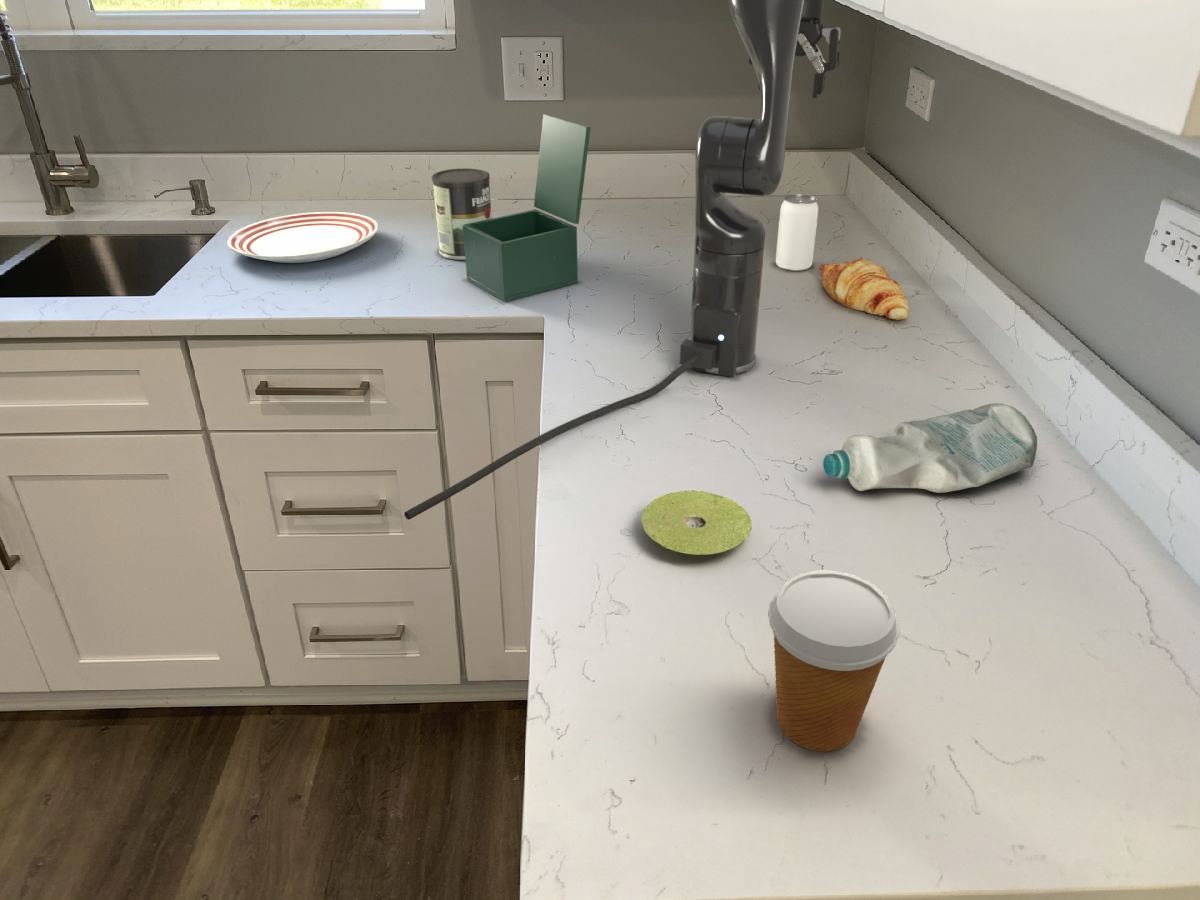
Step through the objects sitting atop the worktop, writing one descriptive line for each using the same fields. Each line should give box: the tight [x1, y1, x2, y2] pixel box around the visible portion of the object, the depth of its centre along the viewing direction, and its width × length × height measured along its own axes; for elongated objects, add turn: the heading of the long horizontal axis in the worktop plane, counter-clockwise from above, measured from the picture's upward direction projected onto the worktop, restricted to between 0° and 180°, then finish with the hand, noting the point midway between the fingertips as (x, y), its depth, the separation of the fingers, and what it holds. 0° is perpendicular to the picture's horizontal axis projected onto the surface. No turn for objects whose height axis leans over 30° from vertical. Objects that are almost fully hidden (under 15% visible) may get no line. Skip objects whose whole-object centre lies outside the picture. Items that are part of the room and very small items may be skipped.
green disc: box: [641, 490, 752, 556], centre depth 95 cm, size 11×11×2 cm
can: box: [775, 193, 819, 272], centre depth 162 cm, size 6×6×12 cm
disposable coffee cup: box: [767, 569, 900, 752], centre depth 71 cm, size 10×10×12 cm
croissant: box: [819, 257, 910, 320], centre depth 149 cm, size 21×10×8 cm, turn 26°
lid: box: [533, 113, 592, 225], centre depth 154 cm, size 15×13×1 cm
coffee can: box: [431, 167, 493, 261], centre depth 169 cm, size 10×10×14 cm
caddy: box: [463, 209, 579, 303], centre depth 156 cm, size 15×13×10 cm
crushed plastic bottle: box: [822, 402, 1038, 494], centre depth 103 cm, size 13×7×25 cm
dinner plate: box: [226, 211, 379, 264], centre depth 174 cm, size 28×27×3 cm
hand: (790, 95), depth 151 cm, fingers open, 8 cm apart
